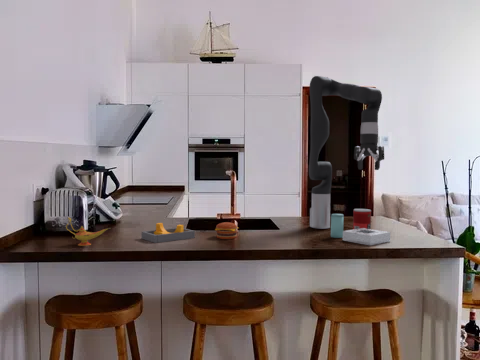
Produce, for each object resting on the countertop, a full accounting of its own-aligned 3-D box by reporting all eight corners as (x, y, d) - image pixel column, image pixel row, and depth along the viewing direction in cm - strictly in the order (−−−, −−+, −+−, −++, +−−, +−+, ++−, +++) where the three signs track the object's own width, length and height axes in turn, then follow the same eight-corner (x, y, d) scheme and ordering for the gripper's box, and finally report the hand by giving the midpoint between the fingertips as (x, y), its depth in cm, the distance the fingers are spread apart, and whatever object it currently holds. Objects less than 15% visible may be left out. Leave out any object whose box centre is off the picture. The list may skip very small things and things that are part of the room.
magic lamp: (107, 246, 177) (107, 218, 176) (62, 246, 177) (62, 218, 177) (113, 243, 184) (113, 216, 183) (69, 242, 184) (69, 215, 184)
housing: (342, 240, 193) (342, 231, 193) (362, 236, 202) (362, 227, 202) (370, 245, 182) (370, 235, 182) (390, 241, 191) (390, 232, 191)
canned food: (371, 234, 208) (371, 210, 208) (353, 233, 210) (353, 210, 209) (369, 231, 216) (370, 208, 215) (352, 231, 217) (353, 208, 217)
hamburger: (218, 235, 205) (218, 220, 204) (239, 236, 203) (239, 221, 202) (213, 238, 195) (213, 223, 195) (234, 239, 194) (235, 224, 193)
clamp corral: (141, 238, 194) (141, 231, 194) (180, 233, 207) (180, 227, 206) (155, 242, 185) (155, 235, 185) (194, 237, 197) (194, 230, 197)
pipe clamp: (154, 239, 195) (153, 224, 195) (158, 237, 199) (158, 222, 199) (179, 241, 191) (178, 226, 191) (183, 239, 195) (183, 224, 195)
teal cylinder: (328, 236, 202) (328, 214, 202) (336, 235, 206) (336, 213, 205) (337, 238, 198) (338, 215, 197) (345, 237, 201) (346, 214, 201)
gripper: (350, 133, 203) (350, 169, 204) (378, 132, 192) (377, 170, 193) (361, 134, 208) (360, 169, 209) (388, 132, 197) (387, 170, 198)
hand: (368, 169), depth 201 cm, fingers open, 8 cm apart
